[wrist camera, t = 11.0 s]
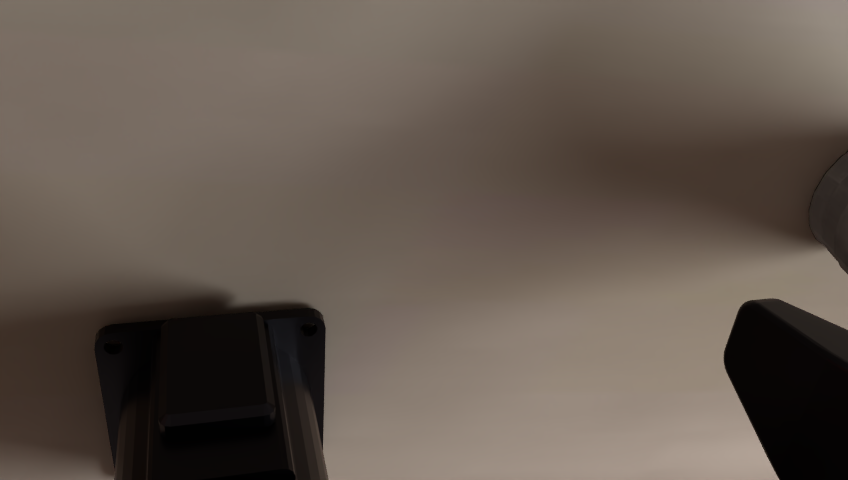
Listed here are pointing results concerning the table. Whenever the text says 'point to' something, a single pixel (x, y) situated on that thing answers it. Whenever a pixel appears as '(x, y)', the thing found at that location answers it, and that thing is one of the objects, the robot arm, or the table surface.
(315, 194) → the table surface
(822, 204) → the beverage cup
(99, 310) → the table surface
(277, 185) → the table surface
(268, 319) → the robot arm
